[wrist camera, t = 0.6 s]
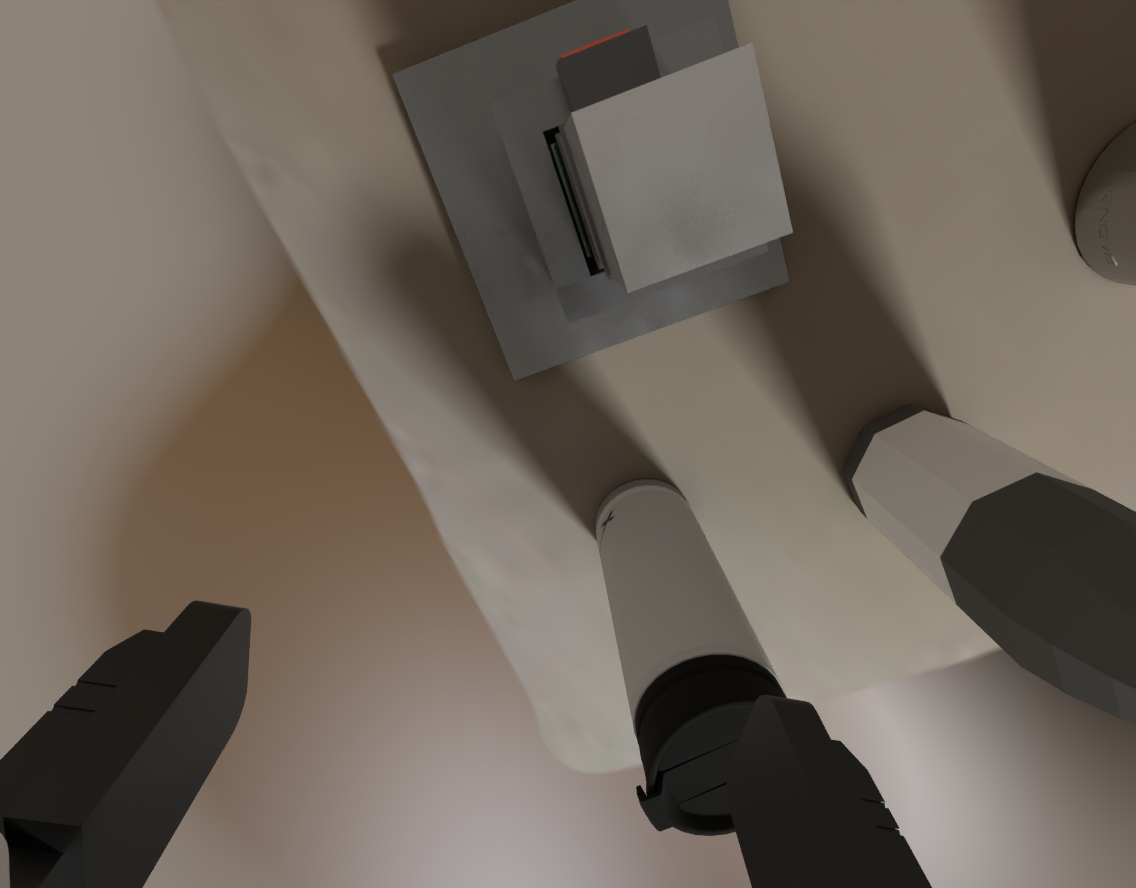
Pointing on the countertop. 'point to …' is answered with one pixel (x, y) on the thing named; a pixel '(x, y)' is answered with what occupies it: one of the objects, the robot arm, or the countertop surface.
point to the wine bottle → (1009, 548)
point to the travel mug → (679, 653)
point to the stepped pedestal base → (530, 183)
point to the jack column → (674, 172)
